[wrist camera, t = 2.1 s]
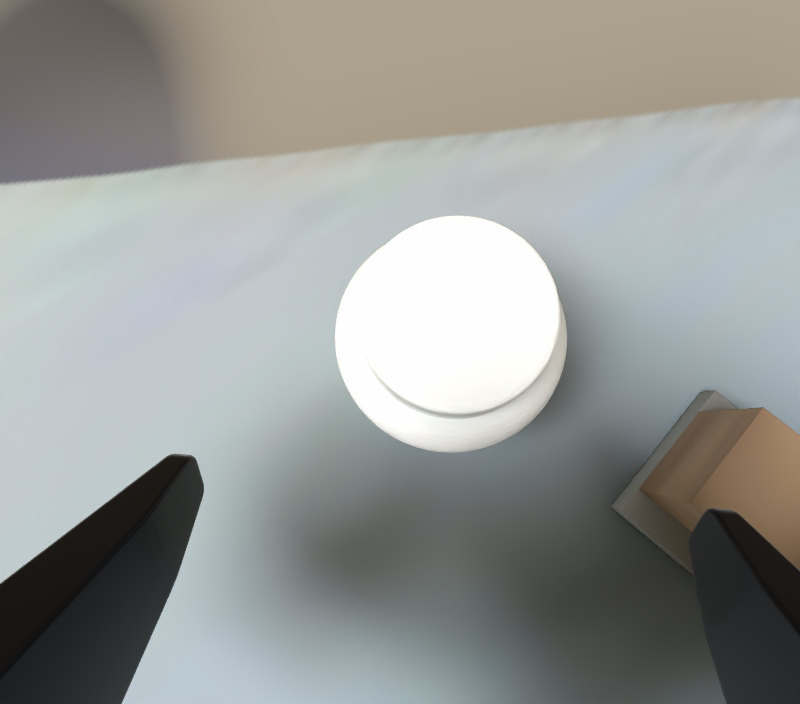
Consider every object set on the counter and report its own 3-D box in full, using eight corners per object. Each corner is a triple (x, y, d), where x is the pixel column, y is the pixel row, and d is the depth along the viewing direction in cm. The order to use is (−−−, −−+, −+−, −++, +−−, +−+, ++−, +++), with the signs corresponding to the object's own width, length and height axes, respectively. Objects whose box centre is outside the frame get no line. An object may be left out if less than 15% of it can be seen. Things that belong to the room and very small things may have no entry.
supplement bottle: (496, 459, 19) (580, 491, 9) (353, 428, 20) (281, 425, 10) (522, 317, 20) (626, 202, 10) (384, 289, 20) (347, 152, 10)
